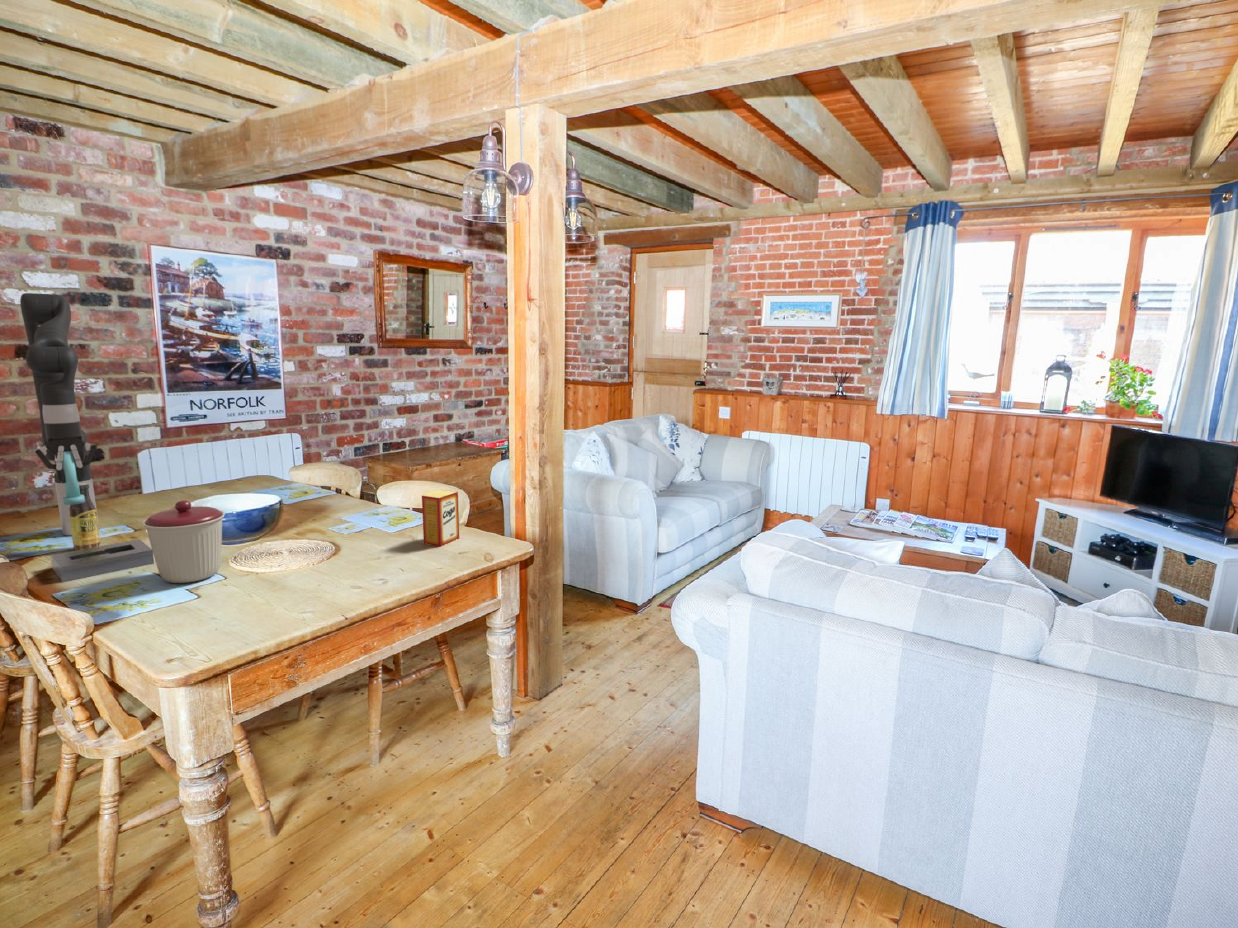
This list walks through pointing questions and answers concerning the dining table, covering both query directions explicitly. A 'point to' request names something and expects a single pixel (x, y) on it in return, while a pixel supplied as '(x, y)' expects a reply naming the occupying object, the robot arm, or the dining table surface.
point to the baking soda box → (440, 517)
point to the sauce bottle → (84, 522)
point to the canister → (186, 542)
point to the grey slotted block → (101, 560)
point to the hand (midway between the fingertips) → (71, 481)
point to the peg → (71, 480)
